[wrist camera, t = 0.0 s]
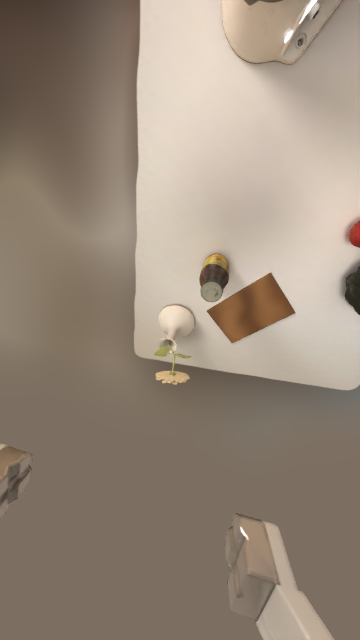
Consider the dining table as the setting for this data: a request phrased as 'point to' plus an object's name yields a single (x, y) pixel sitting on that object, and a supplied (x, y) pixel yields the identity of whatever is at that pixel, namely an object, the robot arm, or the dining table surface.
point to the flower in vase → (173, 338)
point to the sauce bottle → (214, 277)
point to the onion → (355, 235)
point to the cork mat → (251, 309)
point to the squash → (353, 290)
